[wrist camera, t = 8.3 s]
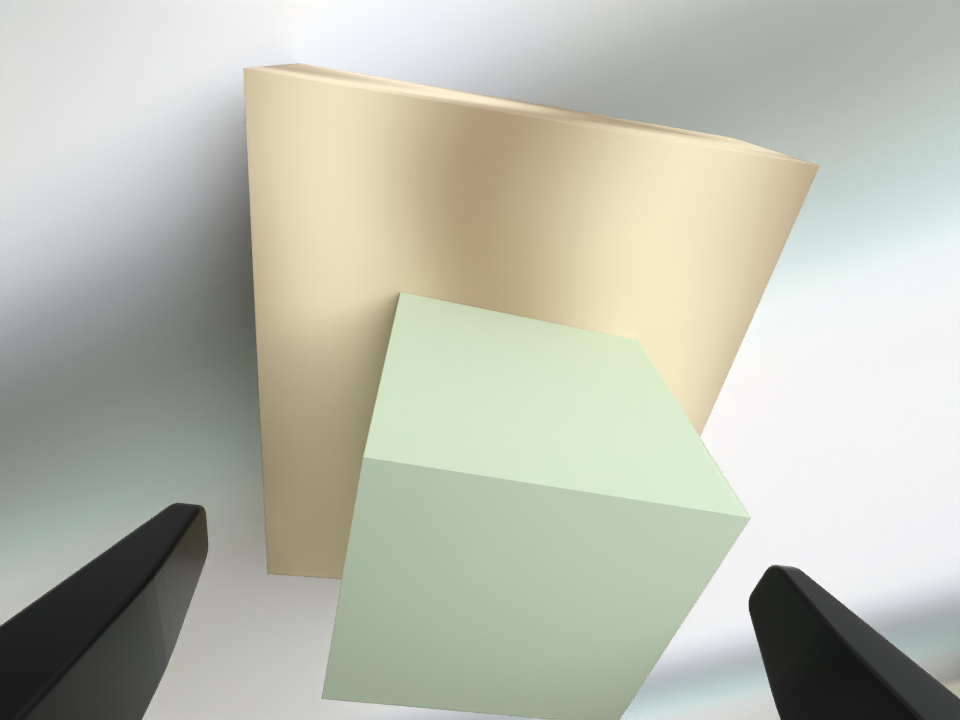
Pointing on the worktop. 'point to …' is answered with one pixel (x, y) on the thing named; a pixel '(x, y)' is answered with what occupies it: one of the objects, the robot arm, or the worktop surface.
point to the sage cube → (522, 521)
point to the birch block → (477, 255)
